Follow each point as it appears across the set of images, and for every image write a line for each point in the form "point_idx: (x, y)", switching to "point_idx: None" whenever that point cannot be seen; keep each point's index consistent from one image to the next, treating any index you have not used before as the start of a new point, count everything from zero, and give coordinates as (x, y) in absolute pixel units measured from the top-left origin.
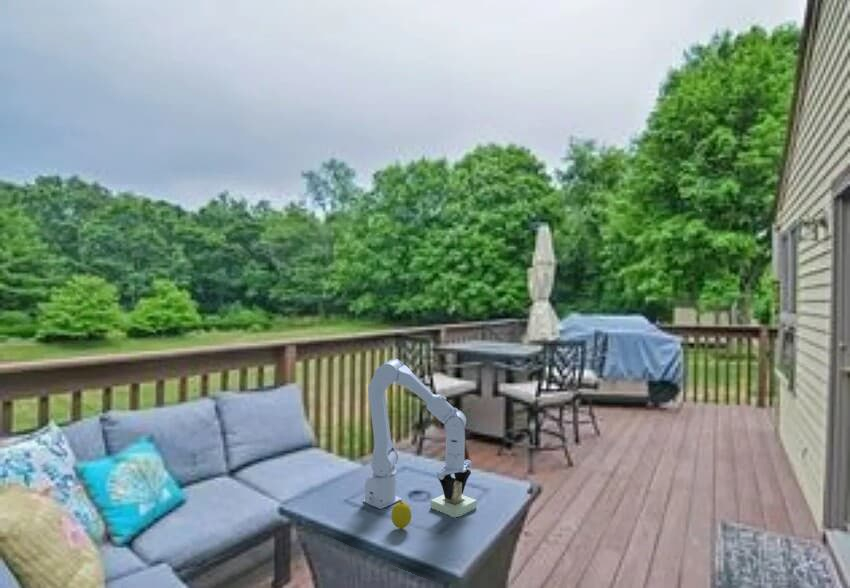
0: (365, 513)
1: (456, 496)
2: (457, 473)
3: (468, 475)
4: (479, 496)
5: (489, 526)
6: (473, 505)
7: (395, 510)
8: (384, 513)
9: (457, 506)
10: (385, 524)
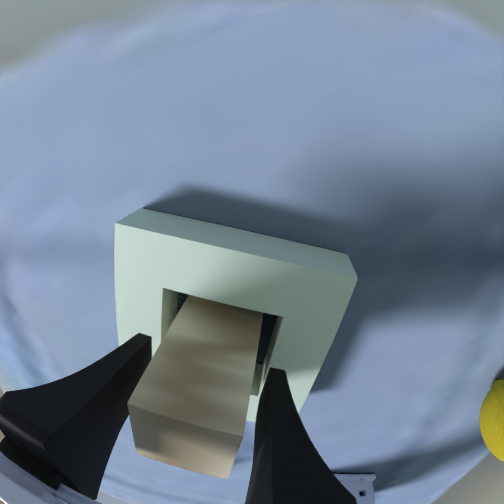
0: (408, 475)
1: (229, 354)
2: (91, 470)
3: (34, 401)
4: (39, 255)
5: (331, 29)
6: (159, 222)
7: None
8: (397, 458)
9: (291, 297)
10: (467, 423)
